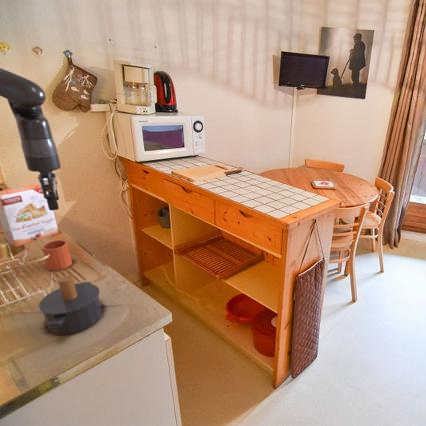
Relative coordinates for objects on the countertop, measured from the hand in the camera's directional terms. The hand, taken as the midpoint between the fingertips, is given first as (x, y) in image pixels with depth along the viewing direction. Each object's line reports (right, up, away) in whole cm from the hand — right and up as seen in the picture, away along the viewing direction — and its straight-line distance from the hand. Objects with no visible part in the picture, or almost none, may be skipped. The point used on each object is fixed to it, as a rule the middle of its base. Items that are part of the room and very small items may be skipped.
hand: (54, 204), depth 98 cm
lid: (+17, -25, -15) cm, 34 cm away
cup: (-5, -21, +8) cm, 23 cm away
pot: (+16, -32, -12) cm, 38 cm away
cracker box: (-27, -13, +23) cm, 38 cm away
